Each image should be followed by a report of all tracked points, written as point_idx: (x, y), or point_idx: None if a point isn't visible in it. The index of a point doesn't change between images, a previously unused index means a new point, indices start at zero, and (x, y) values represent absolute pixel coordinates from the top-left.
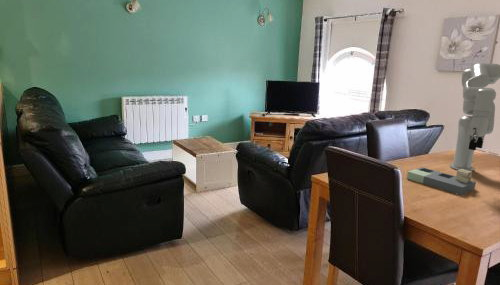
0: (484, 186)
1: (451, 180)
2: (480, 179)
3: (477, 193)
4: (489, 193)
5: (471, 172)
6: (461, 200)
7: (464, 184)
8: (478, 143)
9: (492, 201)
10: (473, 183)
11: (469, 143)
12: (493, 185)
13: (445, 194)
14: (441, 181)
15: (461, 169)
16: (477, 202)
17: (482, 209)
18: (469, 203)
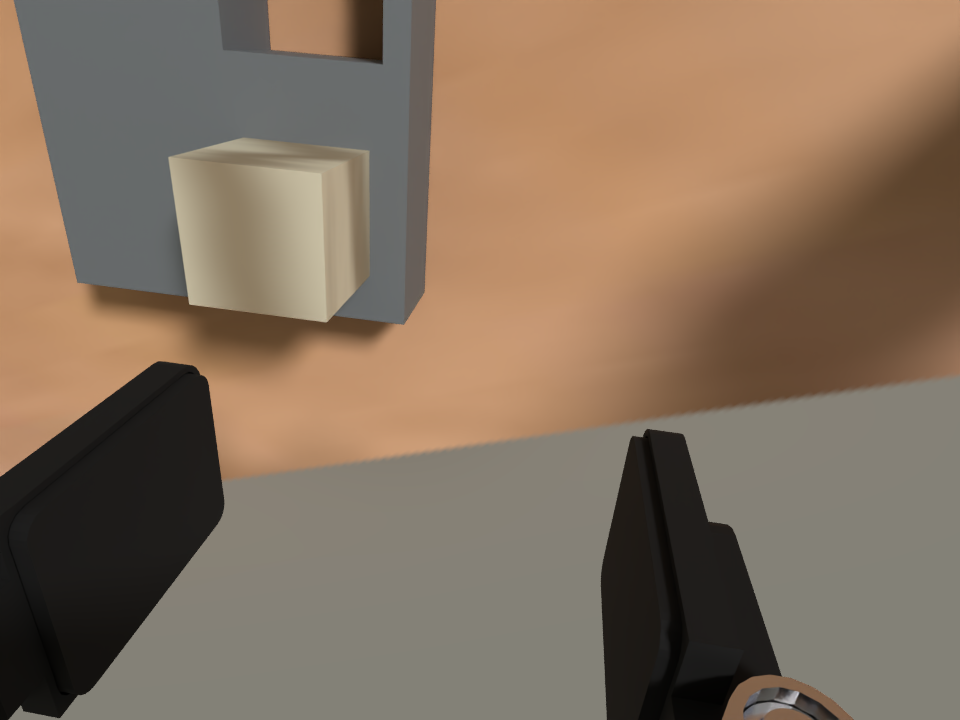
0: (608, 339)
1: (175, 108)
2: (884, 244)
3: (322, 342)
4: (420, 412)
5: (312, 316)
6: (24, 295)
7: (183, 267)
8: (626, 604)
9: (243, 460)
10: (347, 312)
11: (28, 459)
12: (724, 393)
13: (8, 145)
14: (21, 31)
15: (291, 181)
16: (111, 391)
17: (22, 441)
18: (31, 355)
